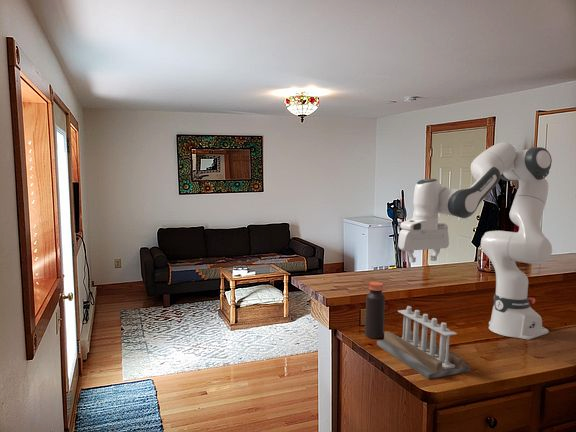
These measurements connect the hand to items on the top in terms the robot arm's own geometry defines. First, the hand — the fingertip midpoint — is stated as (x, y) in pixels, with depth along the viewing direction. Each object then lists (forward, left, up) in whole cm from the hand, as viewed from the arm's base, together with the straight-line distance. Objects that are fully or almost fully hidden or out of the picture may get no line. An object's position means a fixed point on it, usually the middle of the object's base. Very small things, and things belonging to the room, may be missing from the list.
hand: (423, 261), depth 168 cm
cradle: (+11, +15, -29) cm, 34 cm away
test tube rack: (+10, +15, -28) cm, 33 cm away
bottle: (+15, -7, -29) cm, 33 cm away
